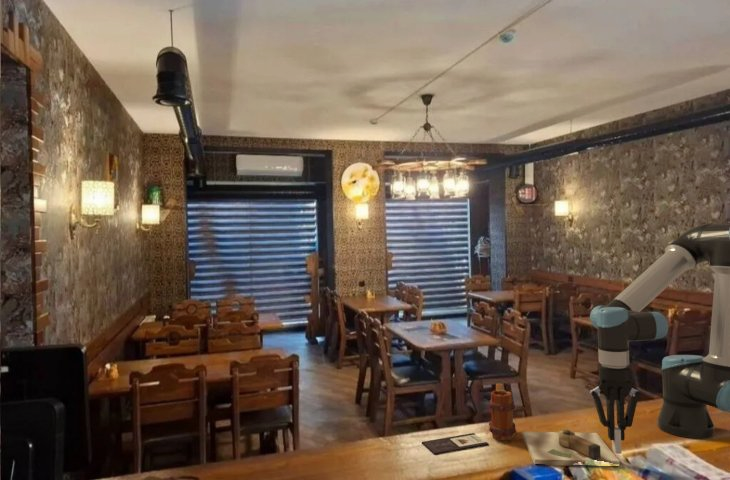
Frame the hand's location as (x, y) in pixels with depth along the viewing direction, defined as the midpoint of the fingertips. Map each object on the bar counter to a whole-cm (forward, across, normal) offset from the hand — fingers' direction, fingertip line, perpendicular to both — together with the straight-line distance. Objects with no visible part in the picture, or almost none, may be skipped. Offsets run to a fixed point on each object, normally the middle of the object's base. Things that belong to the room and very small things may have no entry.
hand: (616, 451), depth 138 cm
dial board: (+3, +11, -8) cm, 14 cm away
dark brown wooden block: (+2, +9, -4) cm, 10 cm away
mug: (+4, +28, -19) cm, 34 cm away
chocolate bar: (+4, +43, -11) cm, 45 cm away
